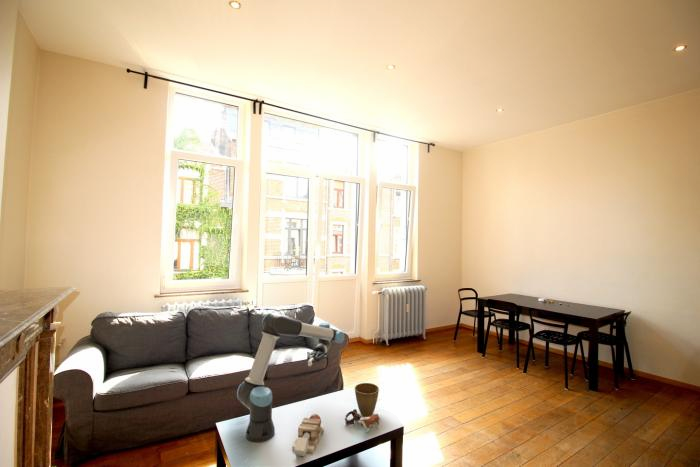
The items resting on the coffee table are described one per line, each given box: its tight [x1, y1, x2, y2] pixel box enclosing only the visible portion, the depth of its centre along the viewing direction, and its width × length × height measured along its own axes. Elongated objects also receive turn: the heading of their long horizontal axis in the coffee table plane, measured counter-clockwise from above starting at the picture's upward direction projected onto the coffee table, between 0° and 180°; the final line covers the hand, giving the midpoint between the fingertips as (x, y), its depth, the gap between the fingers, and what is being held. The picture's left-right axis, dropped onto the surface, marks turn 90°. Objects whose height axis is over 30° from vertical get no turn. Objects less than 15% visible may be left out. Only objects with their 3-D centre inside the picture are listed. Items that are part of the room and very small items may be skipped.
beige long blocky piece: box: [291, 417, 325, 454], centre depth 177 cm, size 20×11×8 cm, turn 170°
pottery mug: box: [344, 408, 364, 427], centre depth 194 cm, size 12×10×8 cm
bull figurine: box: [358, 413, 380, 434], centre depth 188 cm, size 4×13×8 cm, turn 123°
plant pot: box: [354, 382, 380, 418], centre depth 205 cm, size 15×15×16 cm
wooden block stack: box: [302, 413, 322, 440], centre depth 179 cm, size 20×7×7 cm, turn 170°
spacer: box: [294, 436, 309, 457], centre depth 165 cm, size 6×5×5 cm
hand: (309, 363), depth 195 cm, fingers closed
